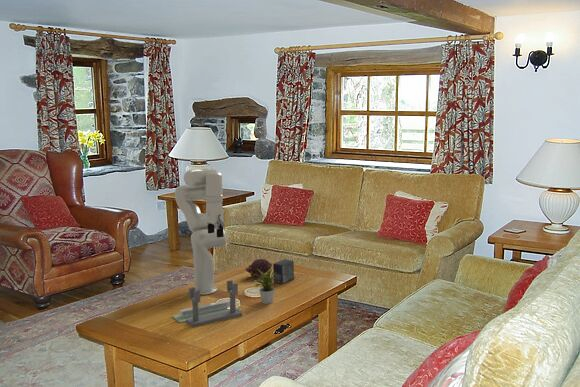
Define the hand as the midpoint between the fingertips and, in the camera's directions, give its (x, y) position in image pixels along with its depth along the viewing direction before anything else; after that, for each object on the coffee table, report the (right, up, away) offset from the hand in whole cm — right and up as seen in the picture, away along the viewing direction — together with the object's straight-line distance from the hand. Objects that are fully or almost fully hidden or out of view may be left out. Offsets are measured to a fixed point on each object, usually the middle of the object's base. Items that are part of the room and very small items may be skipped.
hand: (215, 235), depth 282 cm
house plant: (+23, -32, +8) cm, 41 cm away
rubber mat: (-3, -35, -7) cm, 36 cm away
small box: (+31, -27, +39) cm, 57 cm away
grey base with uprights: (+1, -36, -15) cm, 39 cm away
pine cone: (+19, -26, +46) cm, 56 cm away
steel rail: (-3, -34, -7) cm, 35 cm away
